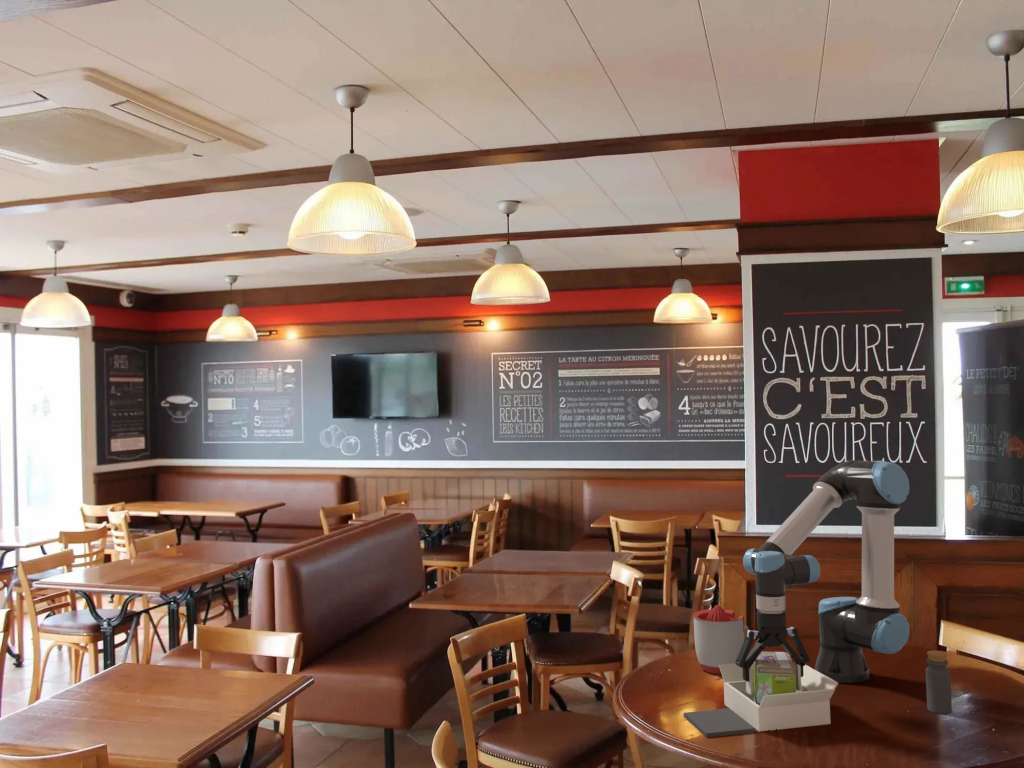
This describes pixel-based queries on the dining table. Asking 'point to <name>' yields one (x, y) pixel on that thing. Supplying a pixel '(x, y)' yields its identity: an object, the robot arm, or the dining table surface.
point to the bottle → (938, 683)
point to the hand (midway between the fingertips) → (773, 691)
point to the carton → (780, 701)
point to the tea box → (773, 675)
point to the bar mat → (718, 722)
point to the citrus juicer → (717, 637)
